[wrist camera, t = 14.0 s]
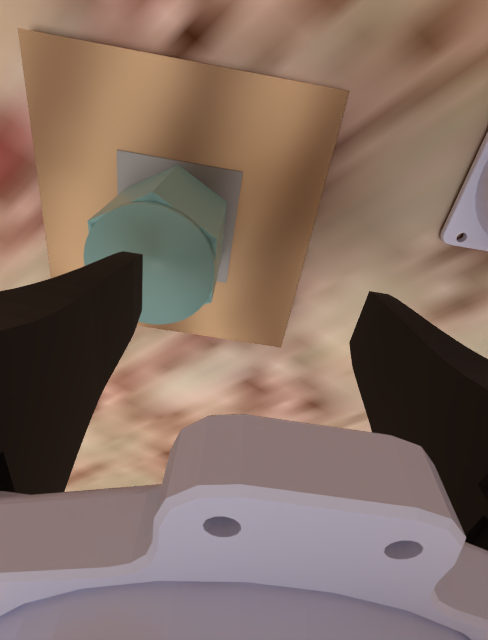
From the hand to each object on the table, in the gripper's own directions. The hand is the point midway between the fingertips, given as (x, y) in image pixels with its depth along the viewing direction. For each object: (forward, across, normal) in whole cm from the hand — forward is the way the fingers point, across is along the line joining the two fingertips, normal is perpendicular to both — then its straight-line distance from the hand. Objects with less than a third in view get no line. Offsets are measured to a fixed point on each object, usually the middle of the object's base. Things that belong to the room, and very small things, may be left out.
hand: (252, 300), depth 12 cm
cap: (+8, +4, +1) cm, 9 cm away
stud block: (+10, +4, +1) cm, 11 cm away
